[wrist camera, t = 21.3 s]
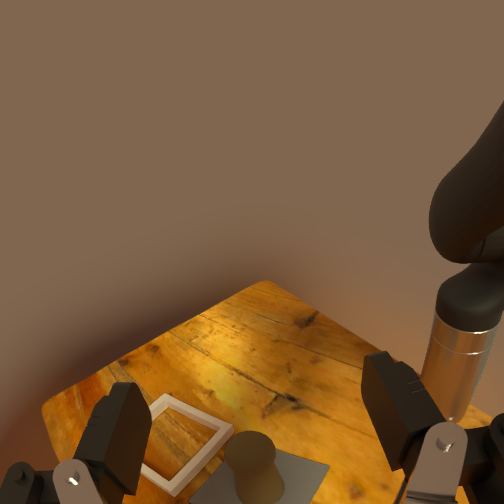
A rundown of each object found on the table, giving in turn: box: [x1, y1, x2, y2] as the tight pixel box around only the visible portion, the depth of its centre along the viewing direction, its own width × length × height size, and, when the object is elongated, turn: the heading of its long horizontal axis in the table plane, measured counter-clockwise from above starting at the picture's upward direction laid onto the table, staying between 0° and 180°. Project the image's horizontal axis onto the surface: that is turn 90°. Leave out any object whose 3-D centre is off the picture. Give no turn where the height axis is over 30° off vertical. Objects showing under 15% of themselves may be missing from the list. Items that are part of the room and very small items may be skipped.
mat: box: [188, 449, 330, 504], centre depth 29 cm, size 13×13×1 cm
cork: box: [224, 431, 285, 504], centre depth 27 cm, size 6×6×11 cm
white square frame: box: [140, 393, 235, 497], centre depth 37 cm, size 14×14×2 cm
